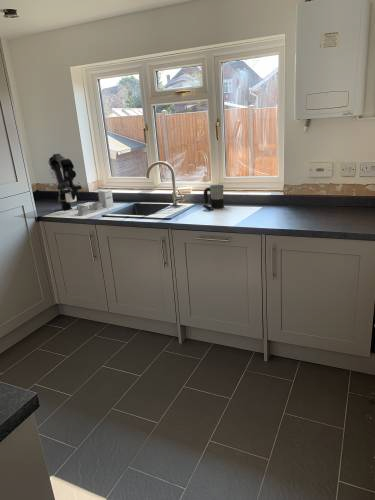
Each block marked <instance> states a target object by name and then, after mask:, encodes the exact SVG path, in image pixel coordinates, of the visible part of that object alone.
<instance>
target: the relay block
mask: <svg viewBox="0 0 375 500" xmlns="http://www.w3.org/2000/svg"><path fill="white" fill-rule="evenodd" d="M80 206H85V204H84V203H78V204H76V210H77V211H78V207H80Z"/></svg>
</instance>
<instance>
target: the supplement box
mask: <svg viewBox="0 0 375 500" xmlns="http://www.w3.org/2000/svg"><path fill="white" fill-rule="evenodd" d="M97 195H98V202H102V204H103V207H105V208H107V209H108V208H113V207H114V200H113V199H114V198H113V190H112V189H102V190H98V191H97Z"/></svg>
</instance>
